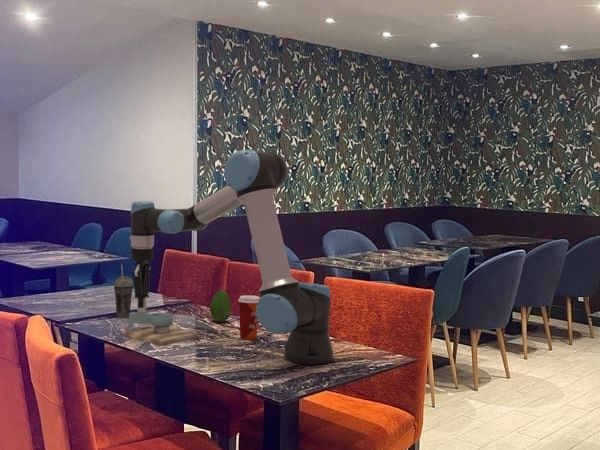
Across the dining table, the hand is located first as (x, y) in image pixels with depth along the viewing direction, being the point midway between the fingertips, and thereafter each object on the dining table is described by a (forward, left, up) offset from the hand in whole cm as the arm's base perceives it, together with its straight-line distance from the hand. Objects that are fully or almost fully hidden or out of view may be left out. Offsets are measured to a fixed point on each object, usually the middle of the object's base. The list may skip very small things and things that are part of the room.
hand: (141, 316), depth 233 cm
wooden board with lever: (-7, -2, -6) cm, 10 cm away
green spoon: (-4, -1, -2) cm, 5 cm away
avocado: (-4, -33, -6) cm, 34 cm away
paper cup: (-28, -22, -6) cm, 37 cm away
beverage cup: (+26, -12, -6) cm, 29 cm away
